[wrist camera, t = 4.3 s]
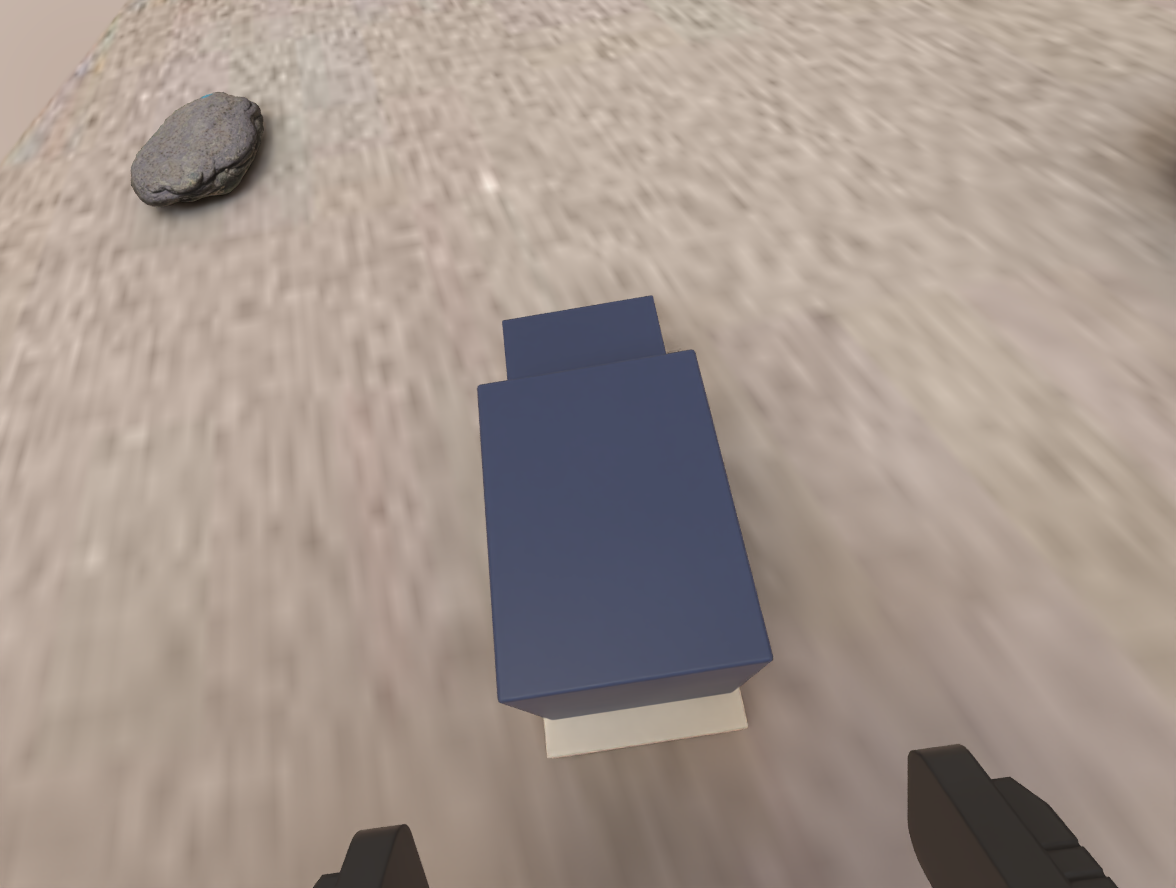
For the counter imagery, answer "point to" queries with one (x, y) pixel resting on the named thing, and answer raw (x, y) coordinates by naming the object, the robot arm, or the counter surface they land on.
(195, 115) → the stone
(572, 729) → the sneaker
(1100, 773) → the counter surface
